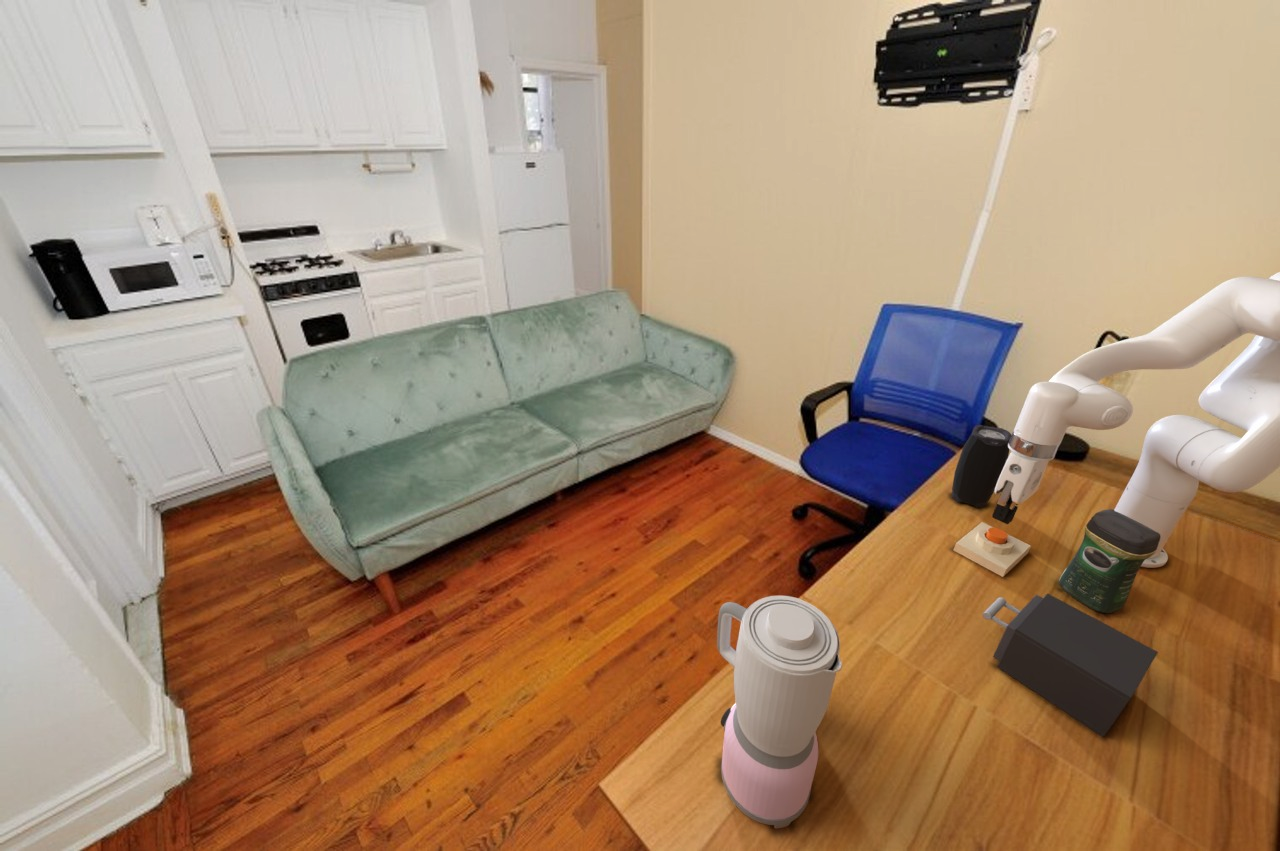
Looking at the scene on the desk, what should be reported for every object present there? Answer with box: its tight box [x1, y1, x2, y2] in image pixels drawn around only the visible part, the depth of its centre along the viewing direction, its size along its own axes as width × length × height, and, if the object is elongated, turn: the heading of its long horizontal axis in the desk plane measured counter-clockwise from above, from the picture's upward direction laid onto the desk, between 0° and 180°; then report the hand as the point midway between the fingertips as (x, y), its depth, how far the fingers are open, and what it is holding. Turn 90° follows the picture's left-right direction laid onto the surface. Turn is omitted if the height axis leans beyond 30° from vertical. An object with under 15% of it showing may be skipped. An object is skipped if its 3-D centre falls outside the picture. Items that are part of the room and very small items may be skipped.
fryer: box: [997, 593, 1159, 738], centre depth 82 cm, size 15×13×10 cm
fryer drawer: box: [982, 594, 1044, 662], centre depth 84 cm, size 18×11×8 cm, turn 35°
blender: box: [716, 594, 843, 829], centre depth 65 cm, size 16×12×32 cm
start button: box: [986, 527, 1009, 545], centre depth 109 cm, size 4×4×2 cm
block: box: [953, 521, 1032, 578], centre depth 110 cm, size 12×10×4 cm
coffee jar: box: [1058, 508, 1161, 614], centre depth 95 cm, size 10×8×19 cm
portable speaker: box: [951, 424, 1012, 509], centre depth 123 cm, size 9×9×20 cm
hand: (1001, 519), depth 106 cm, fingers closed
